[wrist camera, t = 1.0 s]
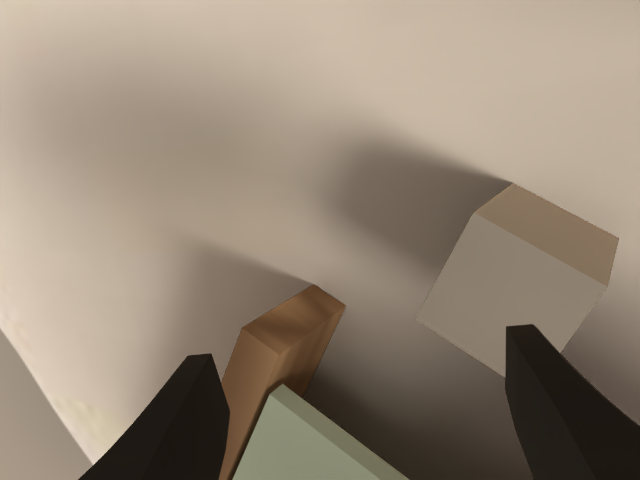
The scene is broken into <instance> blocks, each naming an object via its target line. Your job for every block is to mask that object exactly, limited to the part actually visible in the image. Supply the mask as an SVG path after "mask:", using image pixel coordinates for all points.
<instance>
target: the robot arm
mask: <svg viewBox="0 0 640 480" xmlns="http://www.w3.org/2000/svg"><path fill="white" fill-rule="evenodd" d="M505 390H506V394H507V398H508V402H509V407H510V411H511V415H512V418H513V422H514V426H515V430H516V432H517V435H518V438H519V440H520V443H521V446H522V448H523V451H524V454H525V456H526V459H527V462H528V464H529V467H530V469H531V472H532V475H533V477H534V480H640V426H639V425H637V424H636V423H635V422H634V421H632V420H631V419H630V418H629V417H627V416H626V415H625V414H624V413H623V412H622V411H620V410H619V409H618V408H617V407H616V406H615V405H613V404H612V403H611V402H610V401H609V400H608V399H607V398H605V397H604V396H603V395H602V394H601V393H600V392H599V391H598V390H597V389H596V388H595V387H594V386H593V385H591V384H590V383H589V382H588V381H587V380H586V379H585V378H584V377H583V376H582V375H581V374H580V373H579V372H578V371H577V370H576V369H575V368H574V367H573V366H572V365H571V364H570V363H569V362H568V361H567V360H566V359H565V358H564V357H563V356H562V355H561V354H560V352H559V351H558V350H557V349H556V348H555V347H554V346H553V345H552V344H551V343H550V342H549V340H548V339H547V338H546V337H545V336H544V335H543V334H542V333H541V331H540V330H539V329H538V328H537V327H536V326H535V325H533V324H527V325H516V326H506V374H505ZM229 419H230V409H229V406H228V403H227V400H226V397H225V394H224V391H223V388H222V385H221V381H220V378H219V375H218V372H217V369H216V366H215V363H214V360H213V357H212V354H201V355H190V356H187V358H186V359H185V360H184V361H183V362H182V364H181V365H180V366H179V367H178V369H177V370H176V371H175V372H174V374H173V375H172V376H171V377H170V379H169V380H168V381H167V382H166V384H165V385H164V386H163V387H162V389H161V390H160V391H159V392H158V394H157V395H156V396H155V397H154V399H153V400H152V401H151V402H150V404H149V405H148V406H147V407H146V408H145V410H144V411H143V412H142V413H141V414H140V416H139V417H138V418H137V419H136V420H135V422H134V423H133V424H132V425H131V426H130V427H129V428H128V429H127V430H126V432H125V433H124V434H123V435H122V436H121V437H120V438H119V439H118V440H117V442H116V443H115V444H114V445H113V446H112V447H111V448H110V449H109V450H108V451H107V452H106V453H105V454H104V455H103V456H102V457H101V458H100V459H99V460H98V461H97V462H96V463H95V464H94V465H93V466H92V467H91V468H90V469H89V470H88V471H87V472H86V473H85V474H84V475H83V476H82V477H80V479H78V480H219V476H220V472H221V468H222V464H223V460H224V455H225V451H226V444H227V437H228V429H229Z"/></svg>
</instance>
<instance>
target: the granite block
mask: <svg viewBox="0 0 640 480" xmlns="http://www.w3.org/2000/svg"><path fill="white" fill-rule="evenodd" d="M618 241H619V238H617V237H616V236H614V235H612V234H610V233H608V232H606V231H604V230H602V229H600V228H598V227H596V226H595V225H593V224H591V223H589V222H587V221H585V220H583V219H581V218H579V217H577V216H575V215H574V214H572V213H570V212H568V211H566V210H564V209H562V208H560V207H558V206H556V205H554V204H552V203H551V202H549V201H547V200H545V199H543V198H541V197H539V196H537V195H535V194H533V193H531V192H530V191H528V190H526V189H524V188H522V187H520V186H518V185H516V184H514V183H513V184H511V185H510V186H508V187H507V188H506V189H504V190H503V191H502V192H500V193H499V194H498V195H496V196H495V197H494V198H492V199H491V200H490V201H488V202H487V203H486V204H484V205H483V206H481V207H480V208H479V209H477V210H476V211H475V212H473V214H472V216H471V218H470V220H469V221H468V223H467V225H466V227H465V229H464V231H463V232H462V234H461V236H460V238H459V240H458V242H457V243H456V245H455V247H454V249H453V251H452V253H451V254H450V256H449V258H448V260H447V262H446V264H445V265H444V267H443V269H442V271H441V273H440V275H439V276H438V278H437V280H436V282H435V284H434V285H433V287H432V289H431V291H430V293H429V295H428V296H427V298H426V300H425V302H424V304H423V306H422V307H421V309H420V311H419V313H418V315H417V317H416V318H415V320H416V321H418V322H419V323H421V324H422V325H424V326H426V327H427V328H429V329H430V330H432V331H433V332H435V333H436V334H438V335H439V336H441V337H443V338H444V339H446V340H447V341H449V342H450V343H452V344H453V345H455V346H456V347H458V348H460V349H461V350H463V351H464V352H466V353H467V354H469V355H470V356H472V357H473V358H475V359H477V360H478V361H480V362H481V363H483V364H484V365H486V366H487V367H489V368H490V369H492V370H494V371H495V372H497V373H498V374H500V375H501V376H503V377H504V378H505V374H506V326H516V325H527V324H533V325H535V326H536V327H537V328H538V329H539V330H540V331H541V333H542V334H543V335H544V336H545V337H546V338H547V339H548V340H549V342H550V343H551V344H552V345H553V346H554V347H555V348H556V349H557V350H558V351H559V352H560V353H561V351H562V350H563V348H564V347H565V346H566V344H567V343H568V341H569V340H570V339H571V337H572V336H573V334H574V333H575V332H576V330H577V329H578V327H579V326H580V325H581V323H582V322H583V320H584V319H585V318H586V316H587V315H588V313H589V312H590V311H591V309H592V308H593V306H594V305H595V304H596V302H597V301H598V299H599V298H600V297H601V295H602V294H603V292H604V291H605V290H606V288H607V287H608V283H609V278H610V274H611V270H612V266H613V262H614V257H615V253H616V249H617V245H618Z"/></svg>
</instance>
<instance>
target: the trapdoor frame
mask: <svg viewBox="0 0 640 480" xmlns="http://www.w3.org/2000/svg"><path fill="white" fill-rule="evenodd" d="M345 307H346V306H345V305H344V304H342V303H341V302H339V301H338V300H336V299H335V298H333V297H332V296H330V295H329V294H327V293H326V292H324V291H323V290H321V289H320V288H318V287H317V286H315V285H312V286H310V287H309V288H307V289H305V290H304V291H302V292H300V293H299V294H297V295H295V296H294V297H292V298H290V299H289V300H287V301H285V302H284V303H282V304H280V305H279V306H277V307H276V308H274V309H272V310H271V311H269V312H267V313H266V314H264V315H262V316H261V317H259V318H257V319H256V320H254V321H252V322H251V323H249V324H247V325H246V326H244V327H242V329H241V332H240V334H239V337H238V340H237V342H236V345H235V348H234V350H233V353H232V356H231V358H230V361H229V364H228V366H227V369H226V371H225V374H224V377H223V379H222V382H221V385H222V388H223V391H224V394H225V397H226V400H227V403H228V406H229V409H230V419H229V429H228V437H227V444H226V451H225V455H224V460H223V464H222V468H221V472H220V476H219V480H233V477H234V475H235V473H236V470H237V468H238V466H239V463H240V461H241V459H242V457H243V454H244V452H245V450H246V447H247V445H248V443H249V440H250V438H251V436H252V434H253V431H254V429H255V427H256V424H257V422H258V420H259V417H260V415H261V413H262V411H263V408H264V406H265V404H266V401H267V399H268V397H269V394H271V393H272V392H273V391H274V390H275V389H277V388H278V387H279V386H280V385H282V384H284V385H285V386H286V387H288V388H289V389H290V390H292V391H293V392H294V393H295V394H297V395H298V396H299V397H301V398H303V396H304V394H305V391H306V389H307V387H308V385H309V383H310V381H311V379H312V377H313V375H314V372H315V370H316V368H317V366H318V364H319V362H320V360H321V358H322V355H323V353H324V351H325V349H326V347H327V345H328V343H329V341H330V338H331V336H332V334H333V332H334V330H335V328H336V326H337V324H338V322H339V319H340V317H341V315H342V313H343V311H344V309H345Z"/></svg>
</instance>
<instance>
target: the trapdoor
mask: <svg viewBox="0 0 640 480" xmlns="http://www.w3.org/2000/svg"><path fill="white" fill-rule="evenodd" d="M233 480H409V479H408V478H407V477H405V476H404V475H403V474H401V473H400V472H399V471H397V470H396V469H395V468H393V467H392V466H391V465H389V464H388V463H387V462H385V461H384V460H383V459H381V458H380V457H379V456H377V455H376V454H375V453H373V452H372V451H371V450H370V449H368V448H367V447H366V446H364V445H363V444H362V443H360V442H359V441H358V440H356V439H355V438H354V437H352V436H351V435H350V434H348V433H347V432H346V431H344V430H343V429H342V428H340V427H339V426H338V425H336V424H335V423H334V422H333V421H331V420H330V419H329V418H327V417H326V416H325V415H323V414H322V413H321V412H319V411H318V410H317V409H315V408H314V407H313V406H311V405H310V404H309V403H307V402H306V401H305V400H303V399H302V398H301V397H299V396H298V395H297V394H295V393H294V392H293V391H292V390H290V389H289V388H288V387H286V386H285V385H284V384H282V385H280V386H279V387H278V388H277V389H275V390H274V391H273V392H272V393H271V394H269V397H268V399H267V401H266V404H265V406H264V408H263V411H262V413H261V415H260V417H259V420H258V422H257V424H256V427H255V429H254V431H253V434H252V436H251V438H250V440H249V443H248V445H247V447H246V450H245V452H244V454H243V457H242V459H241V461H240V463H239V466H238V468H237V470H236V473H235V475H234V477H233Z"/></svg>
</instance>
